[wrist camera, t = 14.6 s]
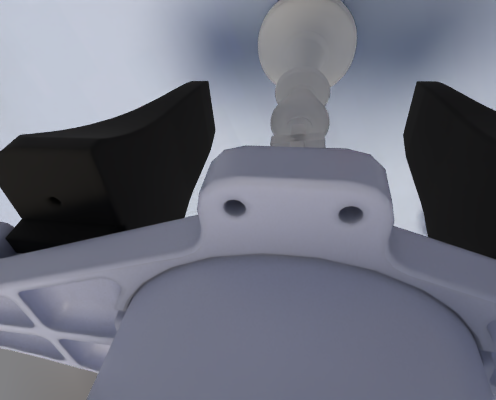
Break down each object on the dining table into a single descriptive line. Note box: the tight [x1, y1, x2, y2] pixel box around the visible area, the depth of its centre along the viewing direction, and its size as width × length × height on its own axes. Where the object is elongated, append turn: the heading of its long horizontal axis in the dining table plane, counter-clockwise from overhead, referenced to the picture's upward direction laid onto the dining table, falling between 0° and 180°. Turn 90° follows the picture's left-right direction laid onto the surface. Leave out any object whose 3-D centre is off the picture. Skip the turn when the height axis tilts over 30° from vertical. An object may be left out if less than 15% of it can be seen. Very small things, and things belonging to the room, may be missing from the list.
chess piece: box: [258, 0, 357, 148], centre depth 14 cm, size 5×5×10 cm
